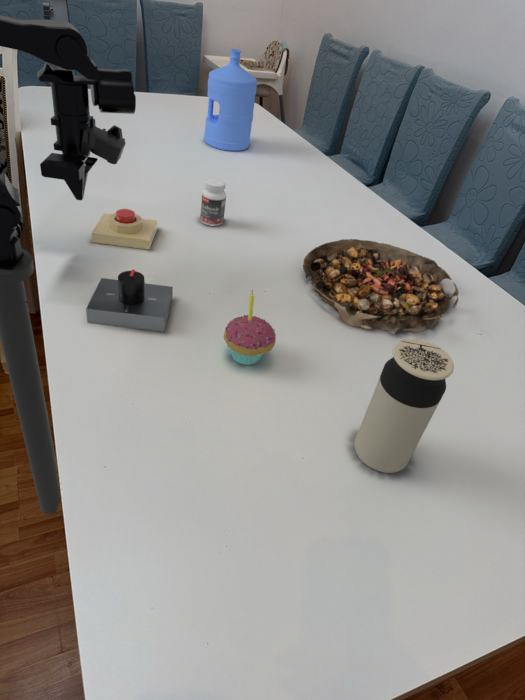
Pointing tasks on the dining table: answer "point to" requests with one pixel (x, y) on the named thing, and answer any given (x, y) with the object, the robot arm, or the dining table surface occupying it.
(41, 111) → the dining table surface
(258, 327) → the cupcake
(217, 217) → the pill bottle
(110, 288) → the panel
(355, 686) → the dining table surface
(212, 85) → the water jug
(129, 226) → the housing
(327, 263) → the food dish
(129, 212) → the button
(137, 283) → the knob
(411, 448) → the travel mug
